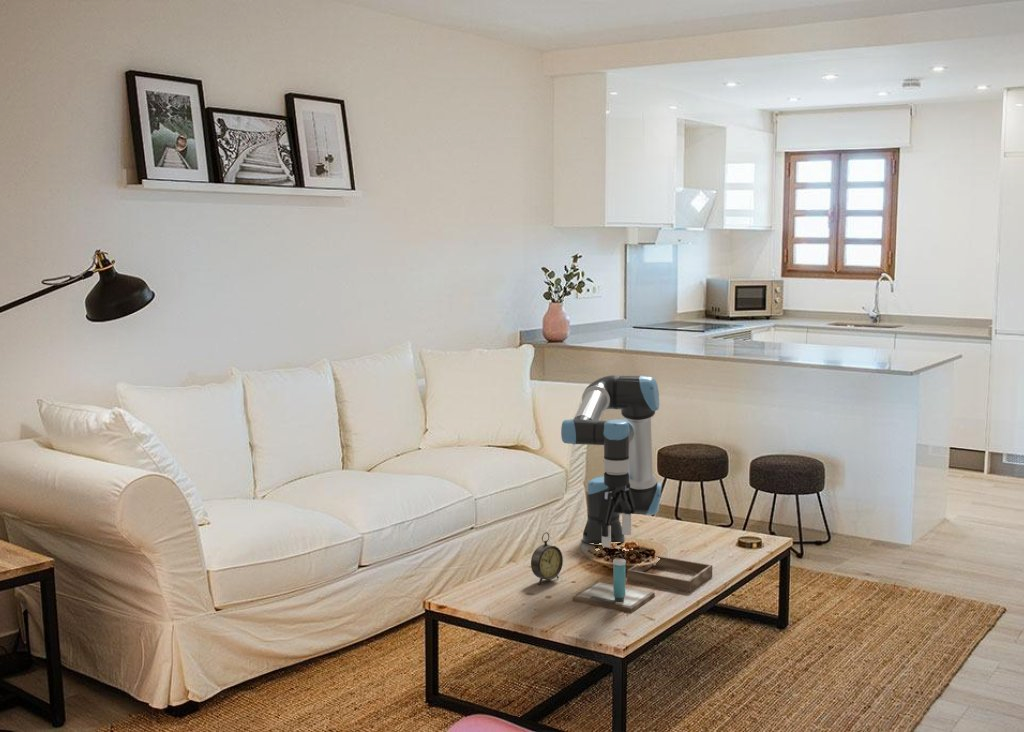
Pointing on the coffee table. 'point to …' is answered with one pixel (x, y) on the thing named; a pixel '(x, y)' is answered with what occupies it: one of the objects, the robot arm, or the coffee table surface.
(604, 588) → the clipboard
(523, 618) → the coffee table surface
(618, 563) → the cylinder
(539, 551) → the alarm clock
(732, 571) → the coffee table surface
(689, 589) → the gray brown tray
